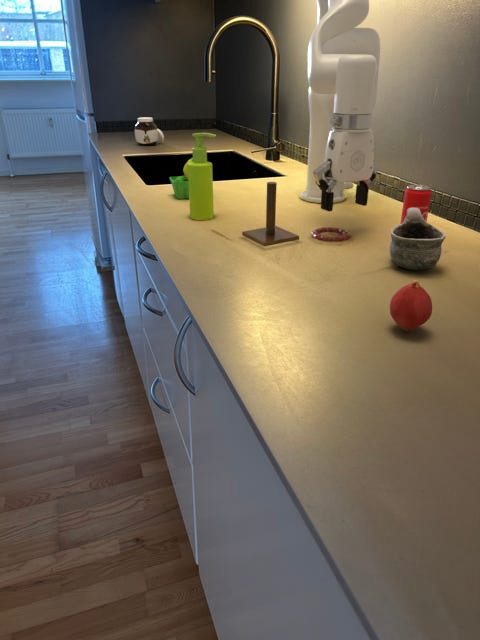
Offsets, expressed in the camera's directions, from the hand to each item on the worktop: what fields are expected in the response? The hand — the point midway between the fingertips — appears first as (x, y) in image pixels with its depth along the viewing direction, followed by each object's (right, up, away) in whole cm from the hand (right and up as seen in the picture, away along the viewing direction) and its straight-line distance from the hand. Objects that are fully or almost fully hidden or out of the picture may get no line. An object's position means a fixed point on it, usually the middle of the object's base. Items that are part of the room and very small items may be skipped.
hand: (343, 207), depth 111 cm
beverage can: (+14, -8, 0) cm, 16 cm away
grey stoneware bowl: (+10, -14, -12) cm, 21 cm away
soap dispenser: (-32, +1, +18) cm, 36 cm away
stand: (-16, -7, +1) cm, 17 cm away
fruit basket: (-36, +11, +37) cm, 53 cm away
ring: (-3, -6, +2) cm, 7 cm away
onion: (+2, -26, -36) cm, 44 cm away
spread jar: (-64, +58, +128) cm, 154 cm away
